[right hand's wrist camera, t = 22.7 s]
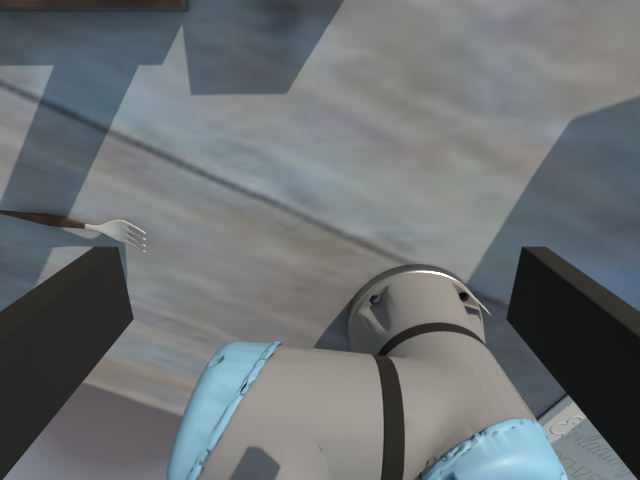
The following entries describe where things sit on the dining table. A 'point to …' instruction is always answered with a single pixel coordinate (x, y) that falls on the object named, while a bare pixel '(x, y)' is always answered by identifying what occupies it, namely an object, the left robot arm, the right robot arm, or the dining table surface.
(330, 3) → the dining table surface
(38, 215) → the fork
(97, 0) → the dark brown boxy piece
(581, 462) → the invitation card
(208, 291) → the dining table surface
